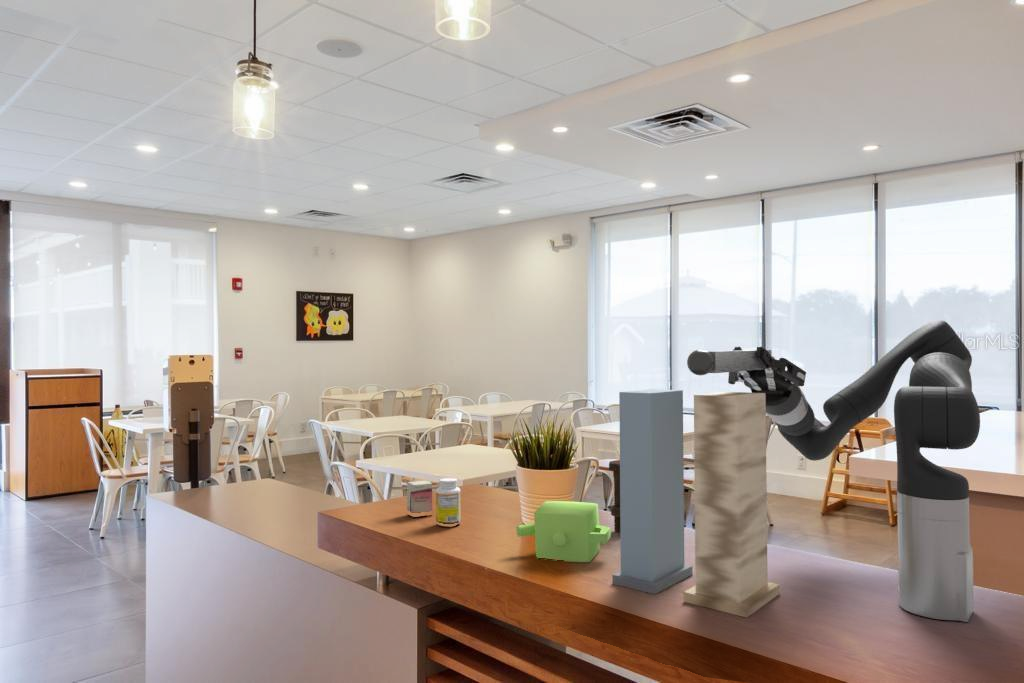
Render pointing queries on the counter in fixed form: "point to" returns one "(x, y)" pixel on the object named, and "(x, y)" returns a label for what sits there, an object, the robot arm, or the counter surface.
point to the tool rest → (730, 503)
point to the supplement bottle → (448, 502)
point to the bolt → (616, 493)
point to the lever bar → (723, 361)
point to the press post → (651, 490)
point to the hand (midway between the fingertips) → (746, 351)
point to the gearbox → (566, 531)
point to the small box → (419, 496)
